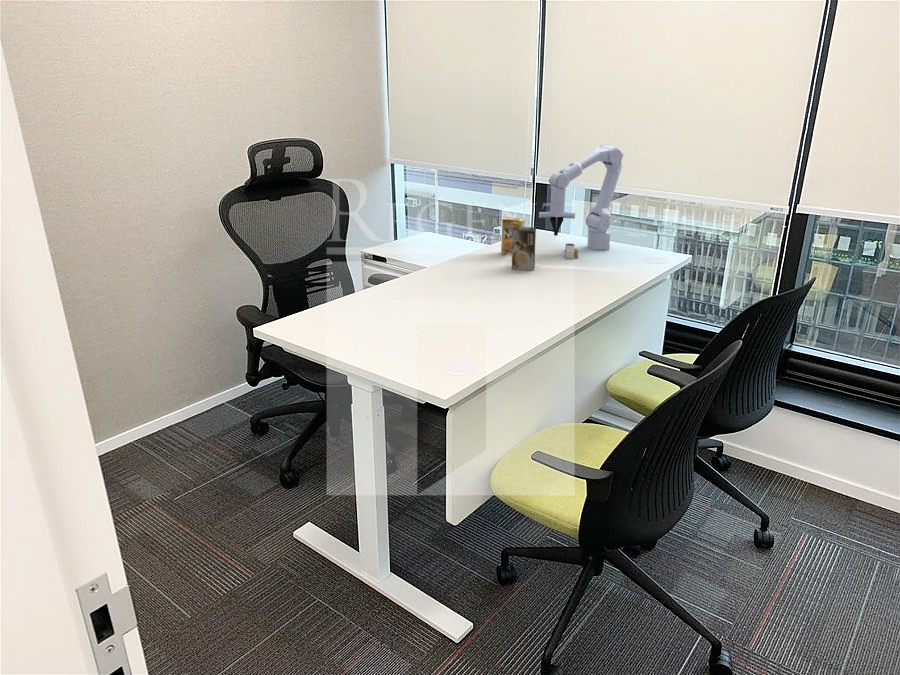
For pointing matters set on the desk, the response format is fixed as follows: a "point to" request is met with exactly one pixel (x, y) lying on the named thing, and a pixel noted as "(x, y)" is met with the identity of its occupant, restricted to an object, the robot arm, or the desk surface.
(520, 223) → the candy box
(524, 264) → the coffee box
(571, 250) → the bar
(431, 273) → the desk surface
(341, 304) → the desk surface
